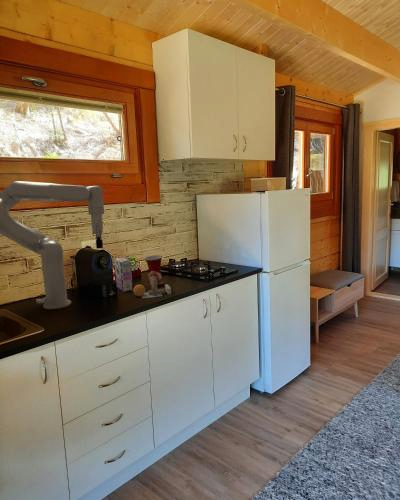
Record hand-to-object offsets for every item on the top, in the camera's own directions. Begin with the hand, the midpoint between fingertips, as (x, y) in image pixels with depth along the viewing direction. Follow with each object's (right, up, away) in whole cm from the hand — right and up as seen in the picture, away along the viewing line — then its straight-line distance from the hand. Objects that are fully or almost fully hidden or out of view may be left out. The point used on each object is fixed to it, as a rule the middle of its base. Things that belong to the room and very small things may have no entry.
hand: (99, 248), depth 190 cm
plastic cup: (+22, -17, +46) cm, 54 cm away
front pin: (+24, -23, +2) cm, 33 cm away
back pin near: (+28, -24, +1) cm, 37 cm away
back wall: (+34, -23, +7) cm, 41 cm away
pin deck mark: (+25, -24, +3) cm, 35 cm away
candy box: (+9, -22, +18) cm, 30 cm away
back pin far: (+26, -23, +6) cm, 36 cm away
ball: (+20, -21, +1) cm, 29 cm away
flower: (+26, -21, +20) cm, 39 cm away
